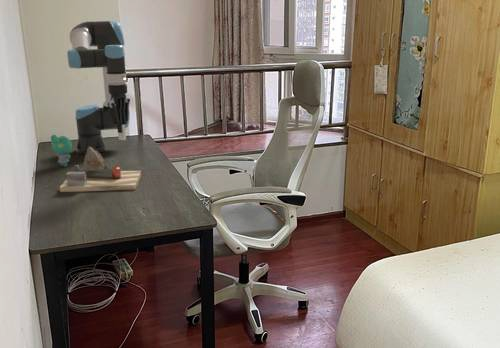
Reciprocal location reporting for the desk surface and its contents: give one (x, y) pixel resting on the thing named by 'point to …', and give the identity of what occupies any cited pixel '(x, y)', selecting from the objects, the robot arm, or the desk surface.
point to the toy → (61, 148)
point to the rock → (93, 159)
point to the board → (99, 181)
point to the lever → (103, 173)
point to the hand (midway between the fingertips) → (122, 139)
